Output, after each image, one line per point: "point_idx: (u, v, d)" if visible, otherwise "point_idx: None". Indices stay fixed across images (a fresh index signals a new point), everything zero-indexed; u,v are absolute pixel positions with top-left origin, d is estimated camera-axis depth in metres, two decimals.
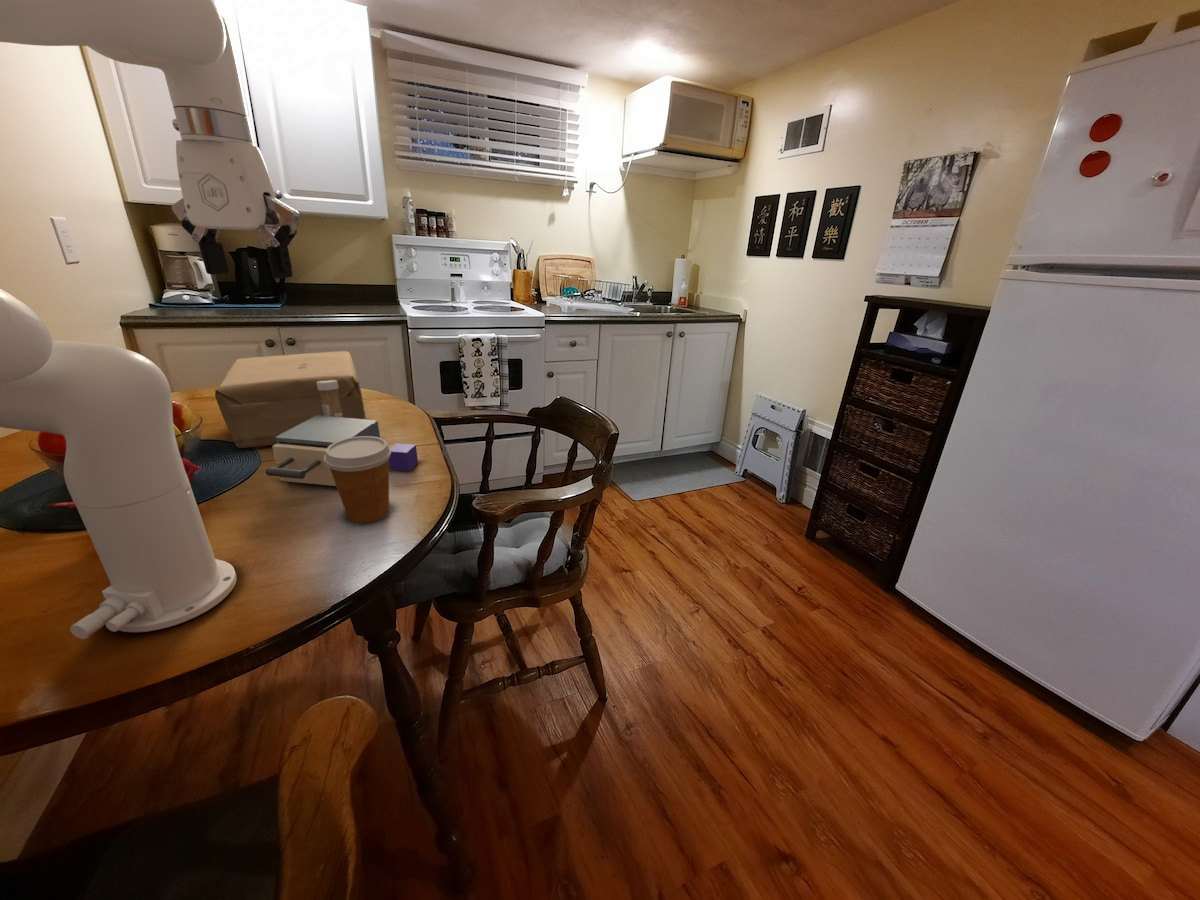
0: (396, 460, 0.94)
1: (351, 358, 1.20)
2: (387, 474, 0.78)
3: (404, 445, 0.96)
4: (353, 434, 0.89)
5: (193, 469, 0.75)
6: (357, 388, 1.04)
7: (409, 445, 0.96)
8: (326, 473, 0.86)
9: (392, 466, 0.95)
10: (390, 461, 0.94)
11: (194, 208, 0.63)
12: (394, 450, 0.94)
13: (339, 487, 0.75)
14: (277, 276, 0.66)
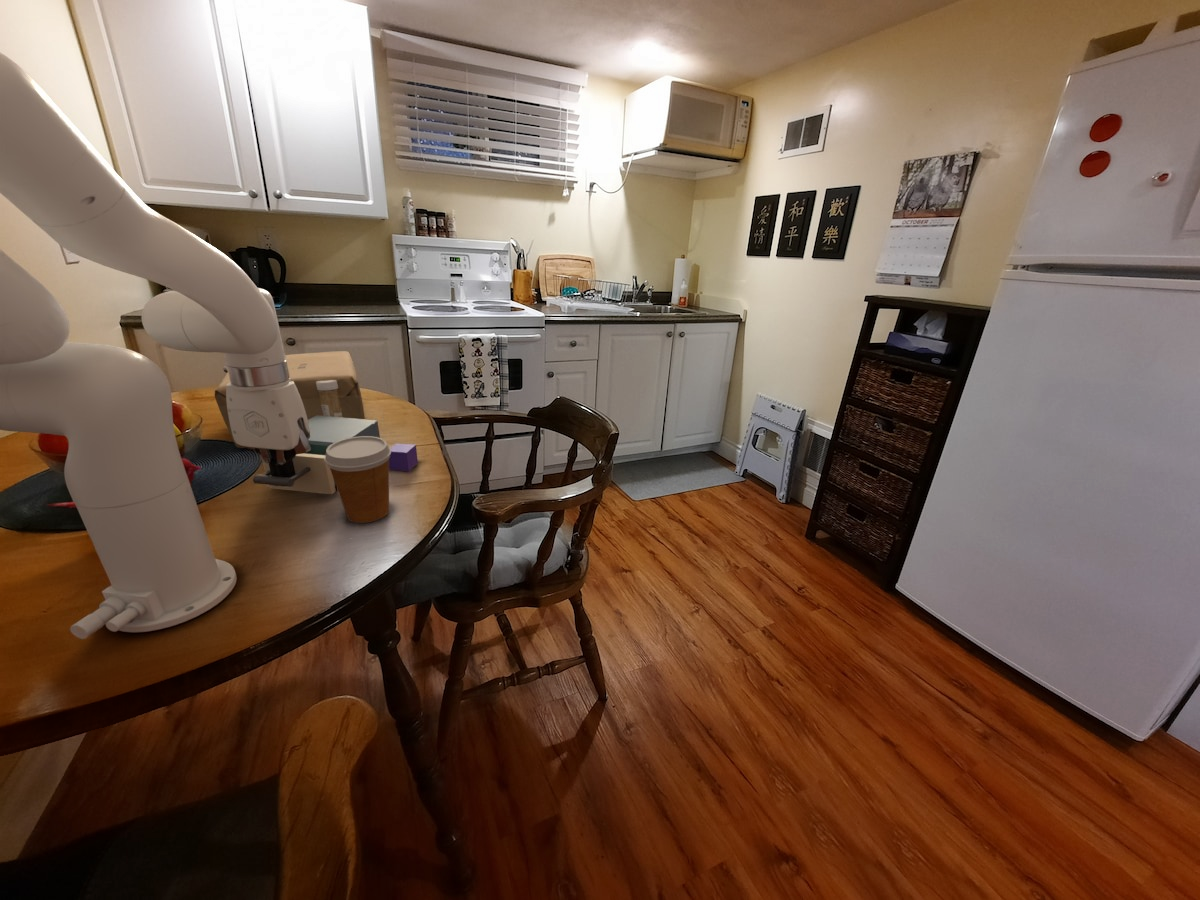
0: (396, 460, 0.94)
1: (351, 358, 1.20)
2: (387, 474, 0.78)
3: (404, 445, 0.96)
4: (353, 434, 0.89)
5: (193, 469, 0.75)
6: (356, 388, 1.04)
7: (409, 445, 0.96)
8: (316, 480, 0.83)
9: (392, 466, 0.95)
10: (390, 461, 0.94)
11: (239, 433, 0.75)
12: (394, 450, 0.94)
13: (339, 487, 0.75)
14: None
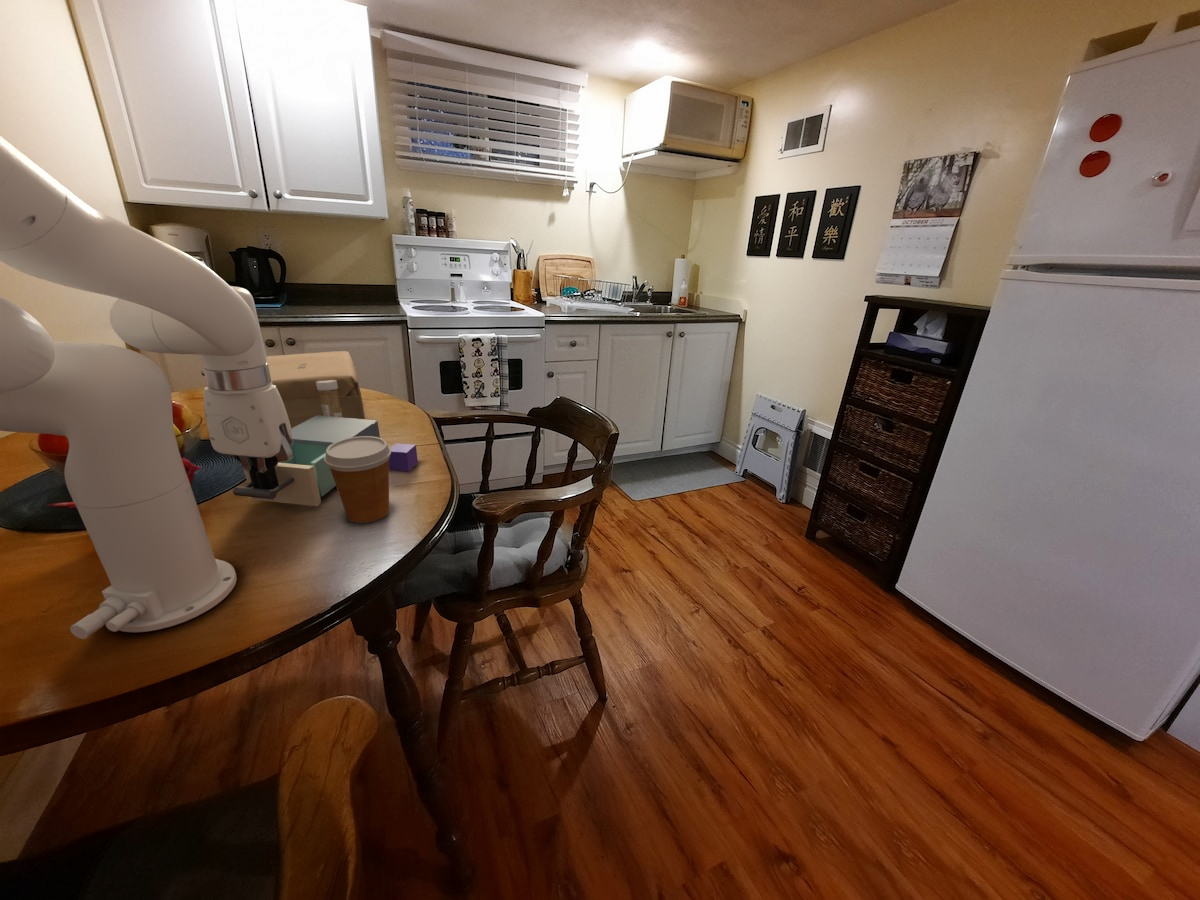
0: (396, 460, 0.94)
1: (350, 358, 1.20)
2: (387, 474, 0.78)
3: (404, 445, 0.96)
4: (353, 434, 0.89)
5: (193, 469, 0.75)
6: (356, 388, 1.04)
7: (409, 445, 0.96)
8: (300, 491, 0.80)
9: (392, 466, 0.95)
10: (390, 461, 0.94)
11: (218, 440, 0.71)
12: (394, 450, 0.94)
13: (339, 487, 0.75)
14: None
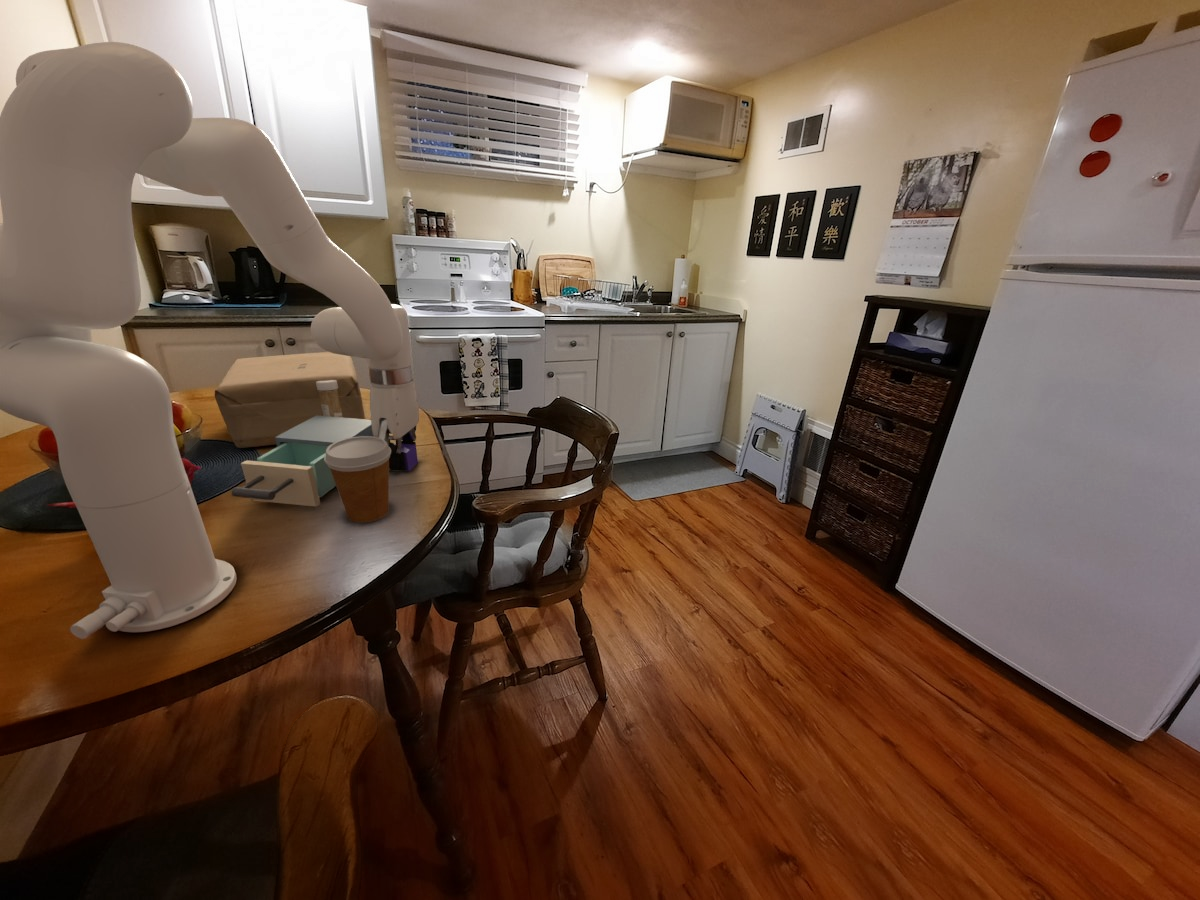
0: None
1: (350, 358, 1.20)
2: (387, 474, 0.78)
3: (404, 445, 0.96)
4: (353, 434, 0.89)
5: (193, 469, 0.75)
6: (356, 388, 1.04)
7: (409, 445, 0.96)
8: (299, 492, 0.79)
9: None
10: None
11: None
12: None
13: (339, 487, 0.75)
14: (389, 468, 0.94)
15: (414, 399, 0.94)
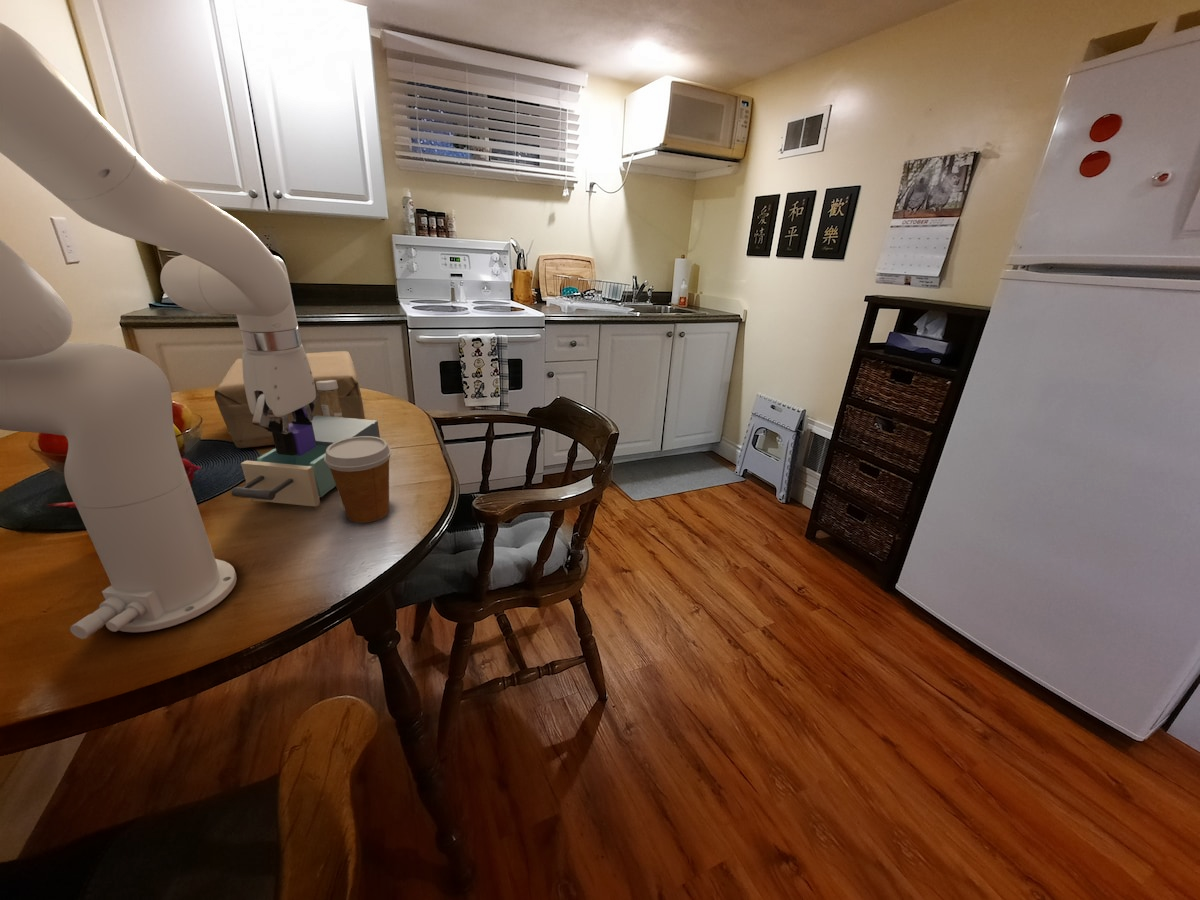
0: None
1: (350, 358, 1.20)
2: (387, 474, 0.78)
3: (297, 425, 0.82)
4: (353, 434, 0.89)
5: (193, 469, 0.75)
6: (356, 388, 1.04)
7: (303, 425, 0.82)
8: (299, 492, 0.79)
9: None
10: None
11: None
12: None
13: (339, 487, 0.75)
14: (277, 452, 0.80)
15: (305, 371, 0.80)
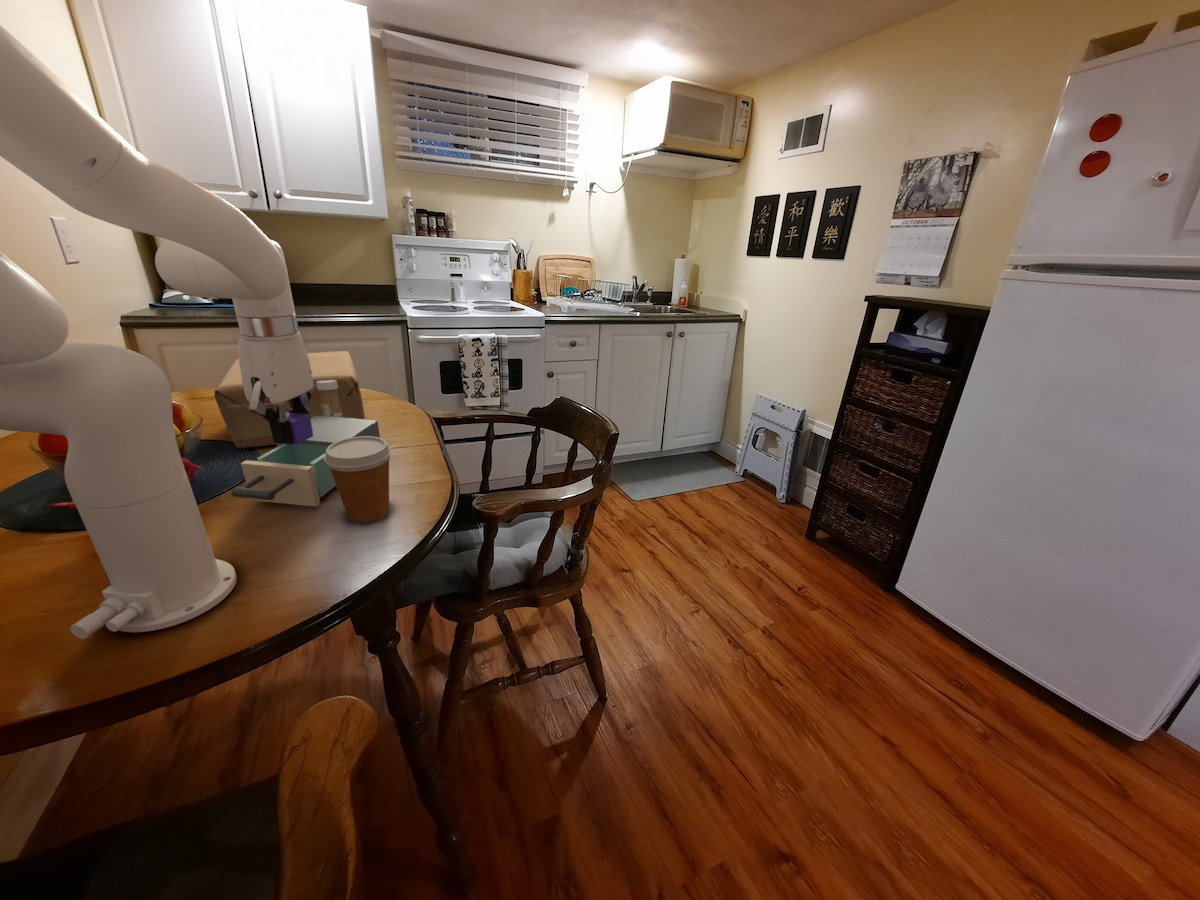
0: None
1: (350, 358, 1.20)
2: (387, 474, 0.78)
3: (294, 414, 0.81)
4: (353, 434, 0.89)
5: (193, 469, 0.75)
6: (356, 388, 1.04)
7: (300, 414, 0.81)
8: (299, 492, 0.79)
9: None
10: None
11: None
12: None
13: (339, 487, 0.75)
14: (274, 441, 0.79)
15: (303, 358, 0.79)
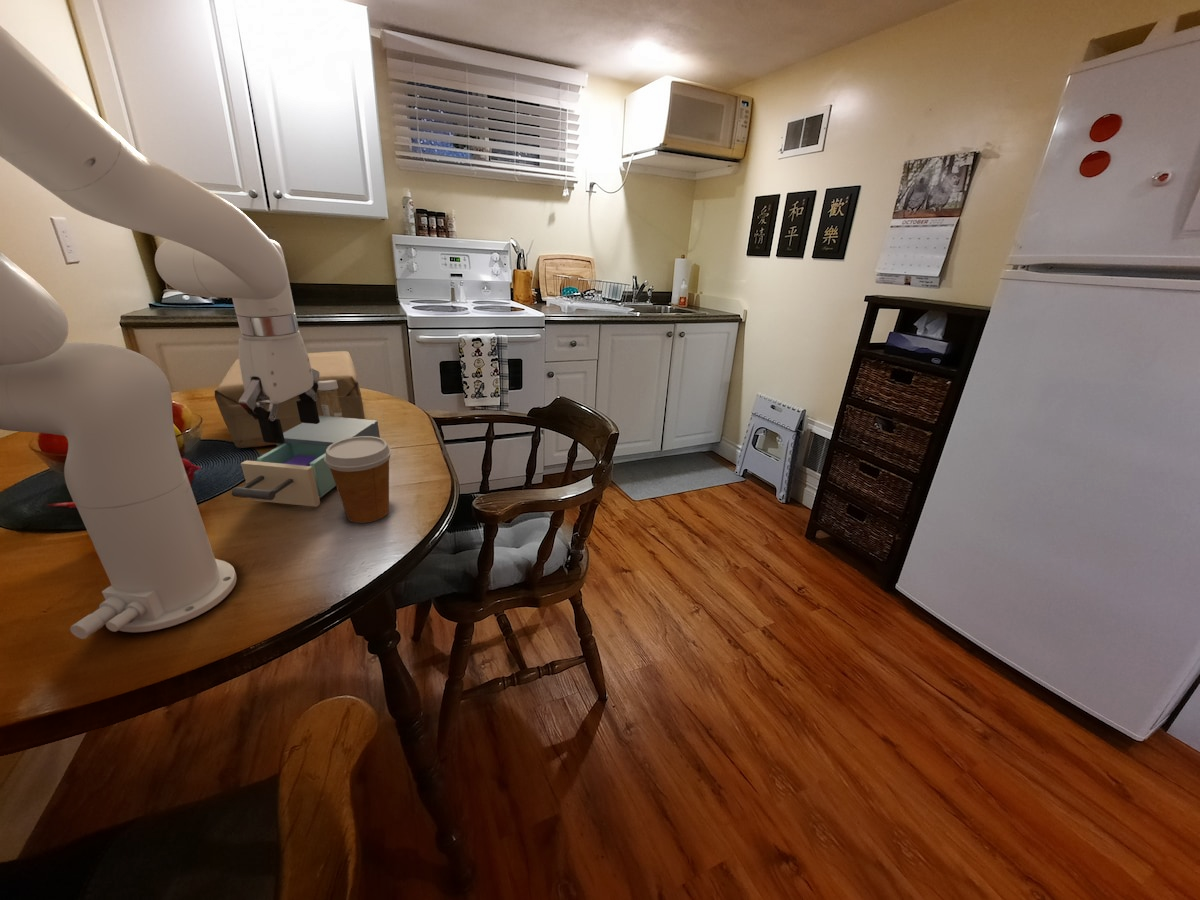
0: None
1: (350, 358, 1.20)
2: (387, 474, 0.78)
3: (304, 457, 0.85)
4: (353, 434, 0.89)
5: (193, 469, 0.75)
6: (356, 388, 1.04)
7: (310, 457, 0.85)
8: (299, 492, 0.79)
9: None
10: None
11: None
12: (290, 463, 0.83)
13: (339, 487, 0.75)
14: (264, 440, 0.77)
15: (303, 358, 0.79)
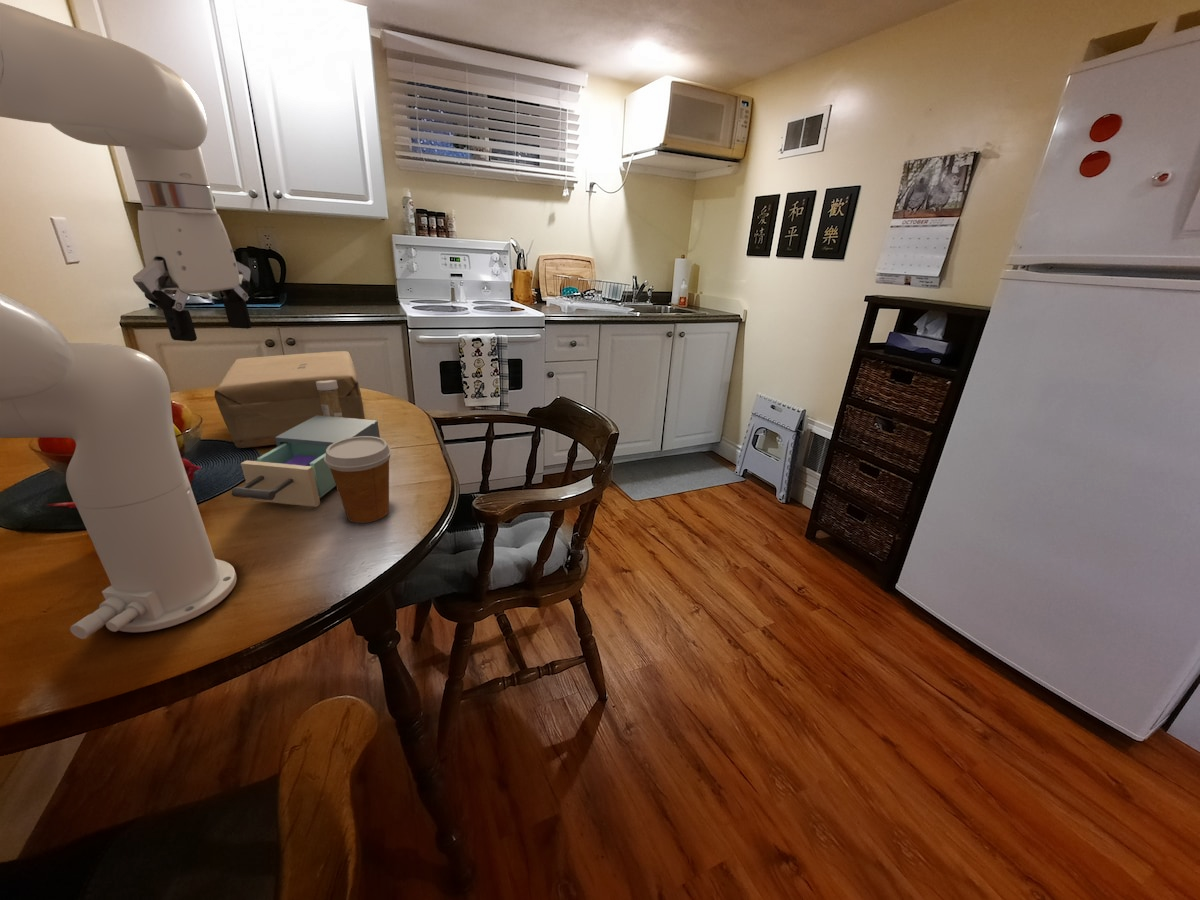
0: None
1: (350, 358, 1.20)
2: (387, 474, 0.78)
3: (304, 457, 0.85)
4: (353, 434, 0.89)
5: (193, 469, 0.75)
6: (356, 388, 1.04)
7: (310, 457, 0.85)
8: (299, 492, 0.79)
9: None
10: None
11: None
12: (290, 463, 0.83)
13: (339, 487, 0.75)
14: (172, 337, 0.66)
15: (224, 246, 0.68)
